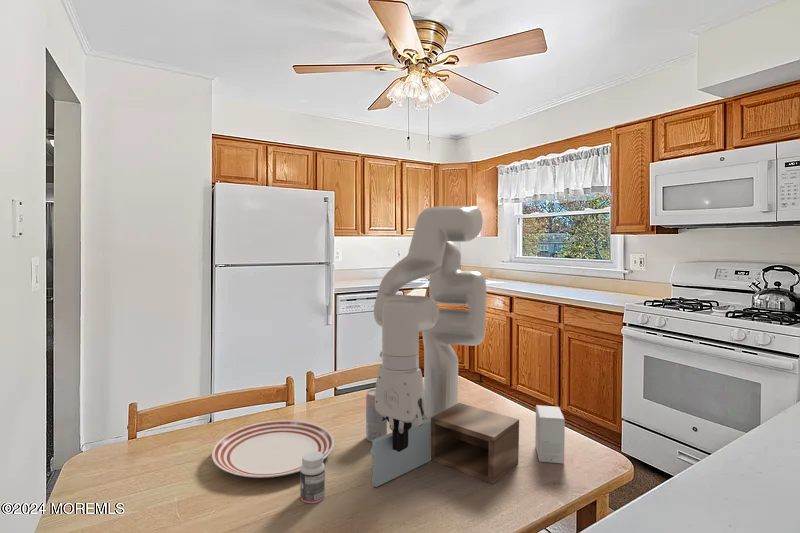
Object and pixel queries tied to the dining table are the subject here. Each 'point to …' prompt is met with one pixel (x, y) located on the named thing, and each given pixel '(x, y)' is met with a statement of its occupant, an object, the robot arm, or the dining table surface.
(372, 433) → the energy drink
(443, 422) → the cabinet
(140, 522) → the dining table surface
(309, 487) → the pill bottle
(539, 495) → the dining table surface
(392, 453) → the side door
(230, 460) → the dinner plate
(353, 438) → the dining table surface
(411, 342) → the robot arm
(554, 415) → the small box
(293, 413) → the dining table surface
